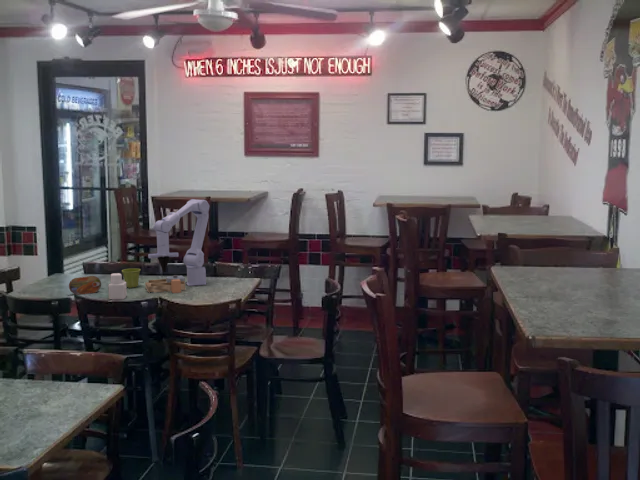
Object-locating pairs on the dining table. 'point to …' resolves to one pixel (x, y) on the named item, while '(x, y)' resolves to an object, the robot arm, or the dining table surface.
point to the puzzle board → (160, 285)
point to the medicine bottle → (117, 286)
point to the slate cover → (168, 279)
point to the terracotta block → (176, 286)
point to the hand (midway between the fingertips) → (164, 271)
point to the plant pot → (131, 277)
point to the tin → (84, 285)
